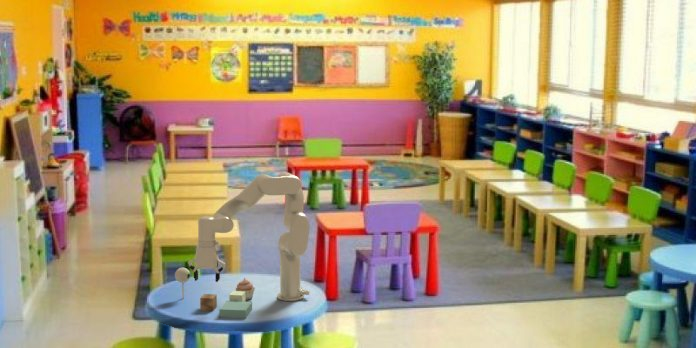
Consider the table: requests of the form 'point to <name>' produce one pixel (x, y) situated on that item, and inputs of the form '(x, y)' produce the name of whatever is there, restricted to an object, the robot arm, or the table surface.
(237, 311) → the base block
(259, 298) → the table surface
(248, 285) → the cupcake
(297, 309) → the table surface
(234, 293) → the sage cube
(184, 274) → the lollipop
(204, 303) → the walnut cube
